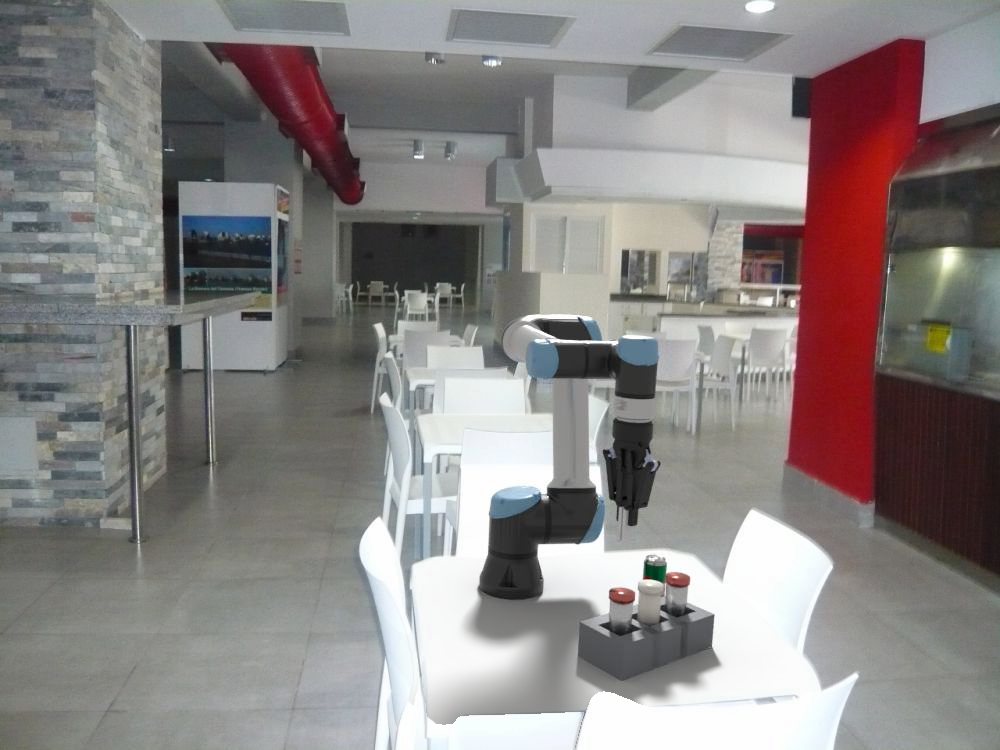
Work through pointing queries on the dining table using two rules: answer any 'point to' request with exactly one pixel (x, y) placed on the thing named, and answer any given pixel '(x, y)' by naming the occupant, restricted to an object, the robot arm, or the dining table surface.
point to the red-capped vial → (621, 610)
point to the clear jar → (676, 593)
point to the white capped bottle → (649, 602)
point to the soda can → (655, 569)
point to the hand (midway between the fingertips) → (625, 540)
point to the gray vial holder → (645, 641)
